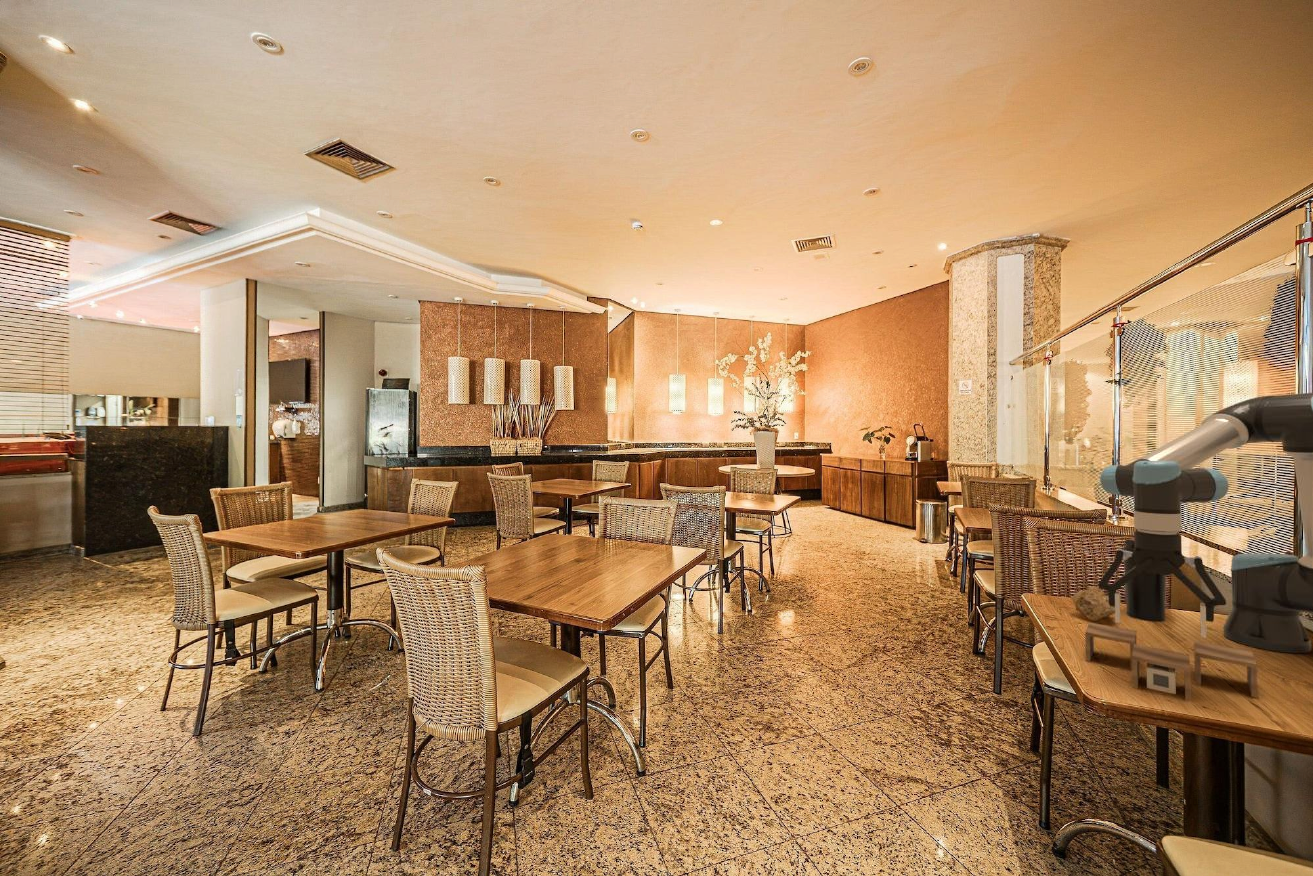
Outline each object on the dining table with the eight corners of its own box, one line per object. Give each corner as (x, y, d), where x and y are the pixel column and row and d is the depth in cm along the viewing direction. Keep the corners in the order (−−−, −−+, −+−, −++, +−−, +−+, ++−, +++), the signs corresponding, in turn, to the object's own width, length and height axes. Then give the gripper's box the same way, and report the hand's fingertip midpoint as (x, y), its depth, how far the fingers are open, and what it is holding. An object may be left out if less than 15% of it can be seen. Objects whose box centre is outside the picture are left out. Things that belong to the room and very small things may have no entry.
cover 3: (1194, 671, 124) (1194, 640, 124) (1252, 682, 117) (1251, 651, 117) (1195, 684, 117) (1195, 652, 117) (1257, 697, 111) (1256, 664, 111)
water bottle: (1178, 623, 154) (1176, 544, 154) (1137, 621, 156) (1135, 543, 156) (1153, 612, 164) (1151, 537, 164) (1115, 610, 166) (1113, 537, 166)
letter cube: (1147, 681, 120) (1147, 660, 120) (1175, 687, 116) (1175, 666, 116) (1146, 688, 116) (1146, 667, 116) (1175, 694, 113) (1175, 673, 113)
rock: (1066, 614, 164) (1066, 581, 164) (1098, 612, 165) (1097, 580, 165) (1101, 627, 152) (1101, 592, 152) (1135, 626, 153) (1134, 591, 153)
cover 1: (1089, 649, 137) (1089, 622, 137) (1136, 659, 131) (1136, 630, 131) (1085, 660, 130) (1085, 632, 130) (1135, 671, 124) (1134, 641, 124)
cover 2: (1134, 674, 123) (1134, 644, 123) (1189, 686, 116) (1189, 654, 116) (1132, 688, 116) (1132, 656, 116) (1191, 701, 110) (1190, 667, 110)
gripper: (1240, 535, 111) (1241, 637, 111) (1086, 523, 128) (1088, 611, 128) (1243, 540, 105) (1245, 648, 105) (1082, 527, 123) (1084, 619, 123)
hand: (1159, 628), depth 117 cm, fingers open, 13 cm apart
